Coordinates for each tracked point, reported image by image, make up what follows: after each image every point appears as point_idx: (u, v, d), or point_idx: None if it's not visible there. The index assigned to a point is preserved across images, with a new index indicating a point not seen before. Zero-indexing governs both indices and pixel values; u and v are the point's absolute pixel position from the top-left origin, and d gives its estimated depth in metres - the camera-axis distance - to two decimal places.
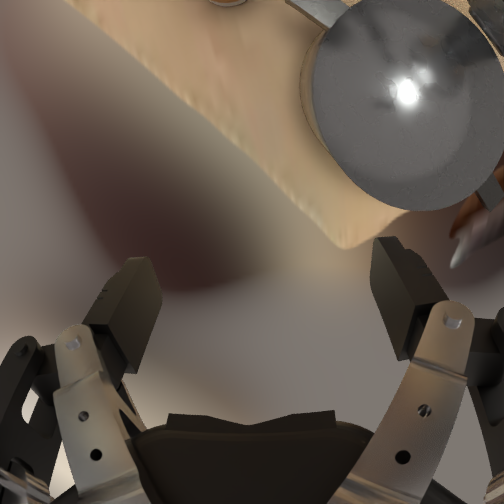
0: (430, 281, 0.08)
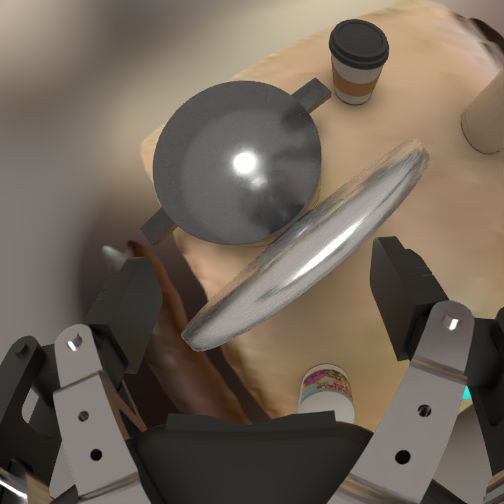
0: (430, 281, 0.08)
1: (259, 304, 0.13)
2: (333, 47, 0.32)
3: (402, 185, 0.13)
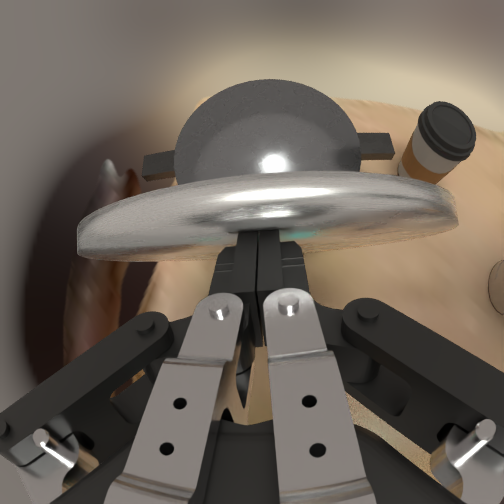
0: (297, 271, 0.09)
1: (147, 207, 0.09)
2: (422, 117, 0.30)
3: (414, 198, 0.09)
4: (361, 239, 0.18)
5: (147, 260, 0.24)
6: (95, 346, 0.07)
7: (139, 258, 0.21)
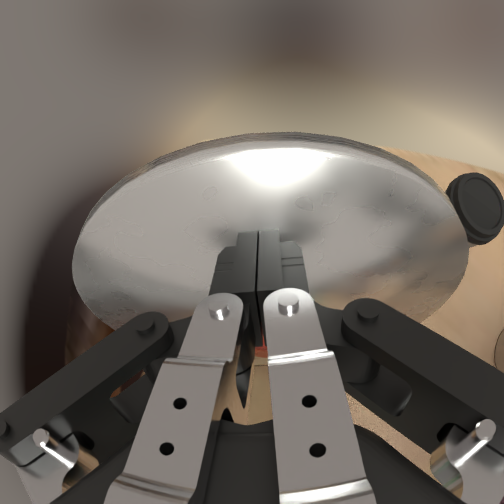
0: (297, 271, 0.09)
1: (154, 166, 0.09)
2: (451, 194, 0.27)
3: (408, 170, 0.09)
4: None
5: None
6: (95, 346, 0.07)
7: None
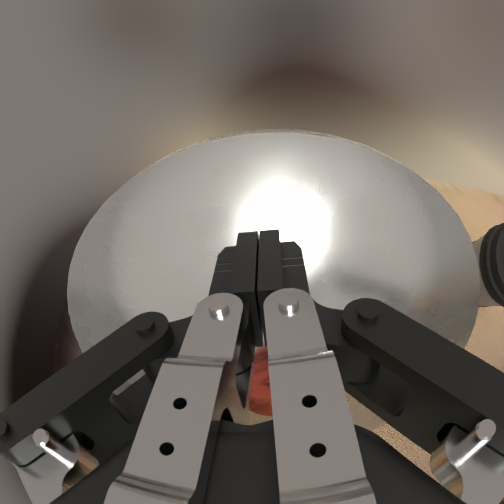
0: (297, 271, 0.09)
1: (167, 155, 0.11)
2: (488, 251, 0.22)
3: (397, 161, 0.10)
4: None
5: None
6: (95, 346, 0.07)
7: None
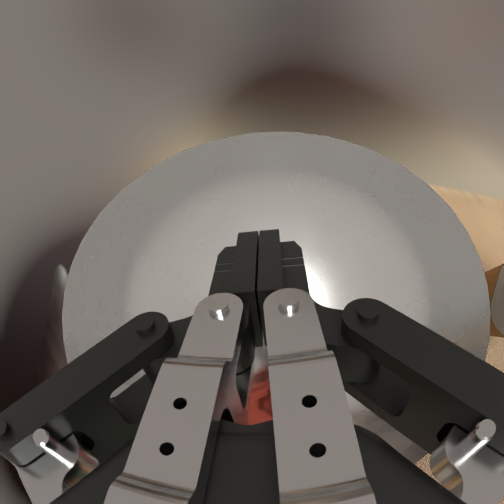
0: (297, 271, 0.09)
1: None
2: None
3: None
4: None
5: None
6: (95, 346, 0.07)
7: None
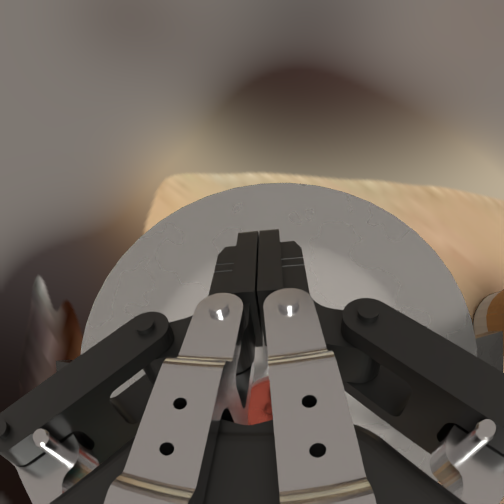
0: (297, 271, 0.09)
1: None
2: None
3: None
4: None
5: None
6: (95, 346, 0.07)
7: None
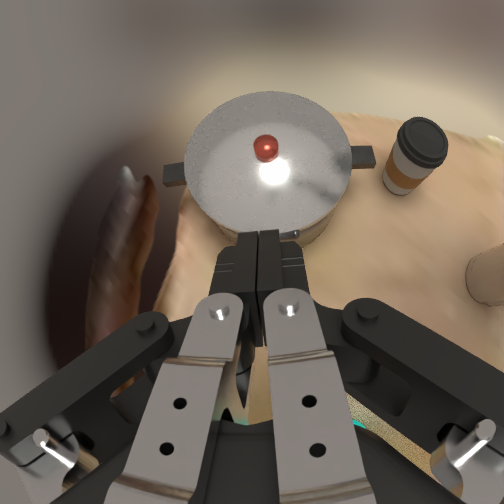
0: (297, 271, 0.09)
1: None
2: (401, 131, 0.38)
3: None
4: (308, 144, 0.39)
5: (194, 182, 0.40)
6: (95, 346, 0.07)
7: (200, 162, 0.41)
